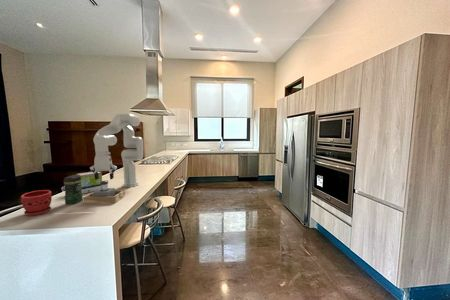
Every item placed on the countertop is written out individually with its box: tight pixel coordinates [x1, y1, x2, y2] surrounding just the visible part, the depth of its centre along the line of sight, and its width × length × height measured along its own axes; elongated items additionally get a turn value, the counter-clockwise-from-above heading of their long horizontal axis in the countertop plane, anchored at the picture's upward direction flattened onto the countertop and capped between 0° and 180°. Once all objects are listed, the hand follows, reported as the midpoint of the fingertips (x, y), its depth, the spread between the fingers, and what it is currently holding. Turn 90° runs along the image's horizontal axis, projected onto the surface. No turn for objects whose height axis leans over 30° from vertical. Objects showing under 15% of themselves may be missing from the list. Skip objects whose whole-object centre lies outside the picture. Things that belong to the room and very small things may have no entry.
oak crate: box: [82, 190, 125, 205], centre depth 140 cm, size 14×20×5 cm
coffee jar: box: [63, 174, 83, 206], centre depth 136 cm, size 10×8×19 cm
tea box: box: [75, 171, 103, 195], centre depth 164 cm, size 15×10×15 cm
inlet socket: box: [93, 187, 116, 197], centre depth 139 cm, size 9×9×7 cm
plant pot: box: [20, 189, 53, 217], centre depth 120 cm, size 13×13×12 cm
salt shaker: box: [100, 180, 109, 191], centre depth 139 cm, size 5×5×10 cm
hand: (104, 179), depth 139 cm, fingers open, 9 cm apart
